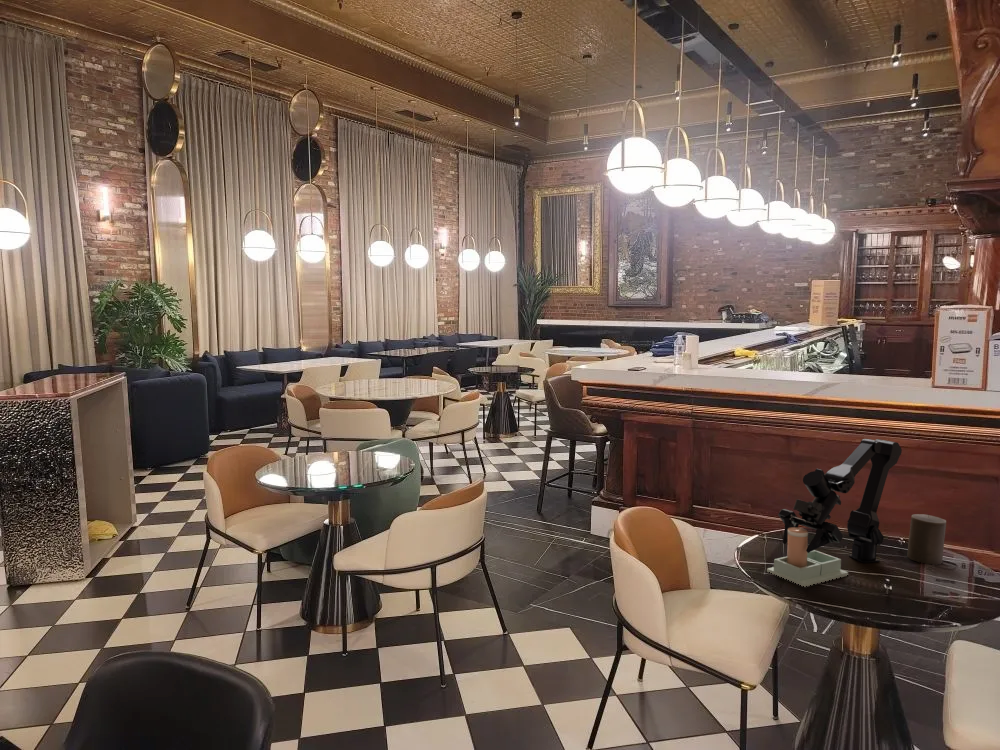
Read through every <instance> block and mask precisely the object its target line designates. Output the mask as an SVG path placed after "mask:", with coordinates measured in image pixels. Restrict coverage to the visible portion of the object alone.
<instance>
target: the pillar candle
mask: <svg viewBox="0 0 1000 750" xmlns="http://www.w3.org/2000/svg"><path fill="white" fill-rule="evenodd" d="M910 516H911V517H910V525H909V527H910V528H909V536H908V545H907V554H906V555H907V558H908V559H909V560H911V561H915V562H917V563H920V562H921V563H920V564H923V563H925V564H924V565H931V564H932V566H933V564H935V565H936V564H939V565H942V564H941V563H943V556H944V547H945V537H946V528H947V520H946V519H943V518H941V517H938V516H936V515H935V516H934V515H929V514H923V513H922V514H920V513H916V514H912V515H910ZM936 566H937V565H936Z"/></svg>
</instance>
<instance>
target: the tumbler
mask: <svg viewBox="0 0 1000 750" xmlns="http://www.w3.org/2000/svg"><path fill="white" fill-rule="evenodd" d="M808 543H809V530H808V529H806V528H803V527H799V526H798V527H791V528H788V542H787V545H786V546H787V553H786V556H787V563H788V564H791V565H793V566H796V567H799V568H802V567H806V566H807V551H806V550H807V548H808V546H809V544H808Z"/></svg>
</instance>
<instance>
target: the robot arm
mask: <svg viewBox="0 0 1000 750" xmlns="http://www.w3.org/2000/svg"><path fill="white" fill-rule="evenodd" d="M902 450H903V449H902V447H901V445H900V444H899V443H898V442H896V441H891V440H886V439H880V438H876V439H870V438H869V439H868V438H863V439H862V440H860V443H859V444H858V446H857V447H856V448H855V449H854V450H853V452H852V453H851V454H850V455H849V456H848V457H847V458H846V459H845V460H844V461H843V462H842V464H840V465H837V466H834V467H832V468H831V469H829V470H827V472H826V473H825V472H824V470H823V469H819V468H816V469H815V470H814V471H810V472H808V473H806V474H805V475H804V476H803V478H802V483H803V484H804V486H805V487H806V488H807V490H808V492H809V493H810V495H811V496H812V497H814V498H813V500H812V501H804V500H802V499H796V500H795V503H794V505H793V507H792V508H793V510H794V511H798V515H799V516H800V517H801V518H800V517H798V516H797V515H796V513H795V512H794V511H792V510H789V509H787V508H783V509H780V510H779V512H778V513H777V516H778V517H779V518H780V520H781V521H782V523H783V524H784V532H783V535H782V544H783V545H786V544H788V528H791V527H798V528H799V526H801V527H806V528H809V529H811V530H815V535H814V537H812V539H811V541H810V543H809V544H808V548H807V550H806V551H807V553H810V552H811V551H813V550H817V549H819V548H821V547H823V546H826V545H827V544H833V543H838V544H839V543H840V542H841V541H842V540H843V533H842V531H841V530H840V527H838V525H837V524H835V523H831V522H828V521H826V520H830V519H831V518H832V517H831V515H830V513H831V512H832V510H833V509H834V507H835V506H836V505H838V506H841V504H842V501H841V496H840V495H838V494H837V493H842V494H847V493H849V492H850V491H851V489H852V487H854V485H855V483H856V482H855V479H856V478H855V477H856V476H857V474H859V472H861V470H863V468H864V466H866V464H868V462H869V461H871V467H870V471H869V474H868V478H867V481H866V484H865V487H864V492H863V495H862V498H861V500H860V501H861V502H860V505H859V507H858V508H857V509H856V510H851V511H850V513H849V516H848V517H849V518H848V519H847V524H846V527H847V534H848V538H849V539H853V544H852V548H851V554H848V557H850V558H852V559H854V560H857V561H859V562H861V563H863V564H865V563H867V564H868V563H877V562H880V561H881V560H880V559H878V558H877V547H878V546H881V544H883V542H884V538H885V536H884V535H883V533H882V531H881V530H880V529H879V526H880V520H879V516H878V513H877V511H878V509H879V504H880V501H881V498H882V495H883V491H884V488H885V484H886V482H887V478H888V474H889V471H890V469H892V468H893V467H894V466H895V465H897V463H898V462H899V460H900V459H899V458H900V457H901V455H902V453H903V452H902ZM836 492H837V493H836Z"/></svg>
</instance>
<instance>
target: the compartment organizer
mask: <svg viewBox="0 0 1000 750" xmlns="http://www.w3.org/2000/svg"><path fill="white" fill-rule="evenodd" d="M841 567H842V559H841V558H838V557H835V556H833V555H830V554H826V552H825V553H824V552H821V551H819V550H817V549H815V550H813V551H811V552H810V553H807V566H806V567H802V568H799V567H796V566H793V565H791V564H788V563H787V555H786V556H783V557H782V556H781V557H778V558H774V560H773V566H772V567H767V569H766V572H767V573H769V572H770V573H769V574H771V573H772V575H774V574H775V575H774V576H776V575H777V576H776V577H778V576H779V577H778V578H781V577H782V578H781V579H783V578H784V580H786V579H787V580H786V581H788V580H789V581H788V582H791V581H792V582H791V583H793V582H794V583H793V584H795V583H796V585H798V584H799V585H798V586H800V585H801V586H800V587H803V586H804V588H807V587H811V586H814V585H813V584H815V585H818V584H822V583H825V581H826V582H829V580H830V581H832V579H833V580H836V578H837V579H840V577H841V578H844V577H847V575H848V576H849V571H846V570H843V569H842V568H841ZM821 582H822V583H821ZM817 583H818V584H817ZM810 585H811V586H810ZM806 586H807V587H806Z"/></svg>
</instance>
